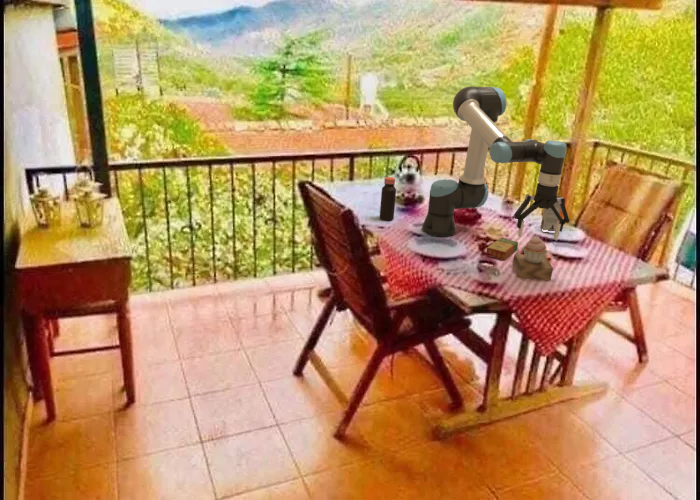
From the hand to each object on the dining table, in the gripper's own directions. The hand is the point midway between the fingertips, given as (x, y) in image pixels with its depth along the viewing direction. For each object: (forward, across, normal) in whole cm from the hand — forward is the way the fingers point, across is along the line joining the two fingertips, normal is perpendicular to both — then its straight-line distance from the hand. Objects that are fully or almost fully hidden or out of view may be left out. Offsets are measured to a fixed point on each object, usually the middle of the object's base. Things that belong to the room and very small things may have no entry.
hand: (537, 237), depth 215 cm
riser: (+14, 0, 0) cm, 15 cm away
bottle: (+15, -57, +52) cm, 78 cm away
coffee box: (+15, +20, +53) cm, 58 cm away
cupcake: (+10, 0, 0) cm, 10 cm away
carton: (+15, -8, +19) cm, 26 cm away
